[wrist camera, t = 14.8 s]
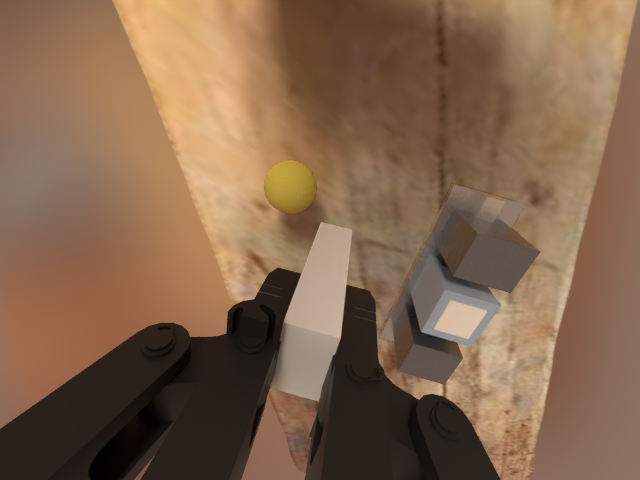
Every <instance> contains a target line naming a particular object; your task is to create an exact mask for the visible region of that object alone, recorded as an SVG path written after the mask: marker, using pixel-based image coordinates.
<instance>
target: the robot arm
mask: <svg viewBox="0 0 640 480" xmlns="http://www.w3.org/2000/svg"><path fill="white" fill-rule="evenodd" d="M351 237H352V230H351V229H347V228H343V227H339V226H335V225H331V224H327V223H323V222H321V223H320V226H319V228H318V231H317V234H316V236H315V239H314V242H313V244H312V247H311V250H310V252H309V255H308V258H307V260H306V263H305V266H304V268H303V271H302V274H300V273H297V272H293V271H289V270H285V269H281V268H277V269H275V270H274V271H272V272H271V273H269V274H268V276H267V278H266V279H265V281H264V283H263V285H262V286H261V288H260V290H259V292H258V293H257V295H256V297H255V299H254V300H247V301H242V302H240V303H238V304H236V305H234V306H233V307H232V308H231V309H230V310H229V311H228V319H227V334H224V335H220V336H214V337H190V336H189V333H188V331H187V330H186V329H185V328H184V327H183V326H181V325H178V324H175V323H159V324H155V325H151V326H148V327H146V328H145V329H143V330H141V331H139V332H137V333H136V334H134V335H133V336H132V337H130V338H129V339H127V340H126V341H124V342H123V343H122V344H120V345H119V346H118V347H116V348H114V349H113V350H112V351H110V352H109V353H107V354H106V355H105V356H103V357H102V358H100V359H99V360H97V361H96V362H95V363H93V364H92V365H90V366H89V367H88V368H86V369H85V370H84V371H82V372H81V373H79V374H78V375H76V376H75V377H73V378H72V379H70V380H69V381H68V382H66V383H65V384H63V385H62V386H61V387H59V388H58V389H56V390H55V391H54V392H52V393H51V394H49V395H48V396H46V397H45V398H44V399H42V400H41V401H39V402H38V403H37V404H35V405H34V406H32V407H31V408H29V409H28V410H26V411H25V412H24V413H22V414H21V415H19V416H18V417H17V418H15V419H14V420H12V421H11V422H9V423H8V424H7V425H5V426H4V427H2V428H1V429H0V480H134V479H135V478H136V476H137V475H138V474H139V473H140V472H141V471H142V469H143V468H144V467H145V466H146V465H147V463H148V462H149V461H150V460H151V459H152V458H153V456H154V455H155V454H156V455H155V456H154V458H153V460H152V461H151V463H150V465H149V466H148V468H147V470H146V471H145V473H144V475H143V476H142V478H141V480H241V478H242V475H243V472H244V469H245V466H246V463H247V460H248V457H249V454H250V451H251V448H252V445H253V442H254V439H255V436H256V433H257V430H258V427H259V424H260V421H261V417H262V414H263V411H264V408H265V403H266V398H267V395H268V392H269V389H270V388H272V389H276V390H279V391H283V392H286V393H290V394H293V395H297V396H300V397H304V398H307V399H311V400H315V401H318V402H319V399H320V403H319V409H318V413H317V416H316V419H315V421H314V424H313V427H312V430H311V432H310V435H309V437H312V439H311V445H310V451H309V457H308V463H307V469H306V476H305V480H500V478H499V476H498V474H497V472H496V470H495V468H494V466H493V464H492V462H491V461H490V459H489V457H488V455H487V453H486V451H485V449H484V447H483V445H482V443H481V441H480V439H479V438H478V436H477V434H476V432H475V430H474V428H473V426H472V424H471V423H470V421H469V420H468V418H467V417H466V415H465V414H464V412H463V411H462V410H461V409H460V408H459V407H457V406H456V405H455V404H454V403H453V402H451V401H450V400H448V399H446V398H445V397H443V396H439V395H435V394H429V395H424V396H423V397H422V398H421V399H420V400H418V399H417V398H415V397H413V396H412V395H410V394H408V393H407V392H405V391H403V390H402V389H400V388H399V387H397V386H396V385H394V384H393V383H392V382H391V381H390V380H389V379H388V378H387V377H386V375H385V373H384V370H383V368H382V367H381V365H380V364H379V361H378V349H377V328H376V314H375V313H376V306H375V300H374V298H373V296H372V295H371V293H370V291H368V290H364V289H360V288H357V287H353V286H349V285H346V284H347V274H348V265H349V256H350V246H351Z"/></svg>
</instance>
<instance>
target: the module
mask: <svg viewBox="0 0 640 480" xmlns="http://www.w3.org/2000/svg"><path fill="white" fill-rule="evenodd" d="M411 295H412V299H413V303H414V307H415V311H416V315H417V318H418V322H419V326H420V330H421V332H423V333H426V334H430V335H433V336H437V337H440V338H443V339H447V340H450V341H454V342H457V343H461V344H464V345H468V346H471V347H472V346H473V344H474V343H475V341H476V340H477V339H478V337H479V336H480V334H481V333H482V332H483V330H484V329H485V327H486V326H487V324H488V323H489V322H490V320H491V319H492V317H493V316H494V315H495V313H496V312H497V310H498V309H499V308H500V306H501V305H500V304H499V302H498V301H497V300H496V298H495V297H494V295H493V294H492V292H491V291H490V290H489V288H488V287H487V286H485V285H482V284H478V283H475V282H471V281H468V280H464V279H461V278H458V277H454V276H453V275H452V273H451V271H450V269H449V268H448V267H444V266H442V264H441V262H440V260H439V258H437V257H433V256H430V255H429V257H428V259H427V261H426V264H425V266H424V268H423V270H422V272H421V274H420V276H419V278H418V280H417V282H416V284H415V286H414V288H413V290H412V292H411Z"/></svg>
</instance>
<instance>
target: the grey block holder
mask: <svg viewBox="0 0 640 480" xmlns="http://www.w3.org/2000/svg"><path fill="white" fill-rule="evenodd" d="M524 207H525V205H524V204H523V203H520V202H517V201H513V200H510V199H506V198H503V197H499V196H496V195H492V194H489V193H485V192H482V191H478V190H475V189H471V188H468V187H464V186H461V185H457V184H454V183H452V185H451V187H450V189H449V191H448V193H447V195H446V197H445V199H444V201H443V203H442V206H441V208H440V210H439V212H438V214H437V216H436V218H435V220H434V222H433V224H432V226H431V228H430V230H429V232H428V234H427V236H426V238H425V241H424V243H423V245H422V247H421V249H420V251H419V253H418V255H417V257H416V259H415V261H414V263H413V265H412V267H411V269H410V271H409V274H408V276H407V278H406V280H405V282H404V284H403V286H402V288H401V290H400V292H399V294H398V296H397V298H396V300H395V302H394V304H393V306H392V309H391V311H390V313H389V315H388V317H387V319H386V321H385V323H384V325H383V327H382V329H381V331H380V333H379V337H380V338H382V339H386V340H389V341H393V342H395V350H396V357H397V365H398V371H401V372H404V373H407V374H411V375H414V376H417V377H421V378H424V379H427V380H431V381H434V382H437V383H441V384H445V383H446V381H447V380H448V379H449V377H450V376H451V374H452V373H453V372H454V370H455V369H456V368H457V366H458V365H459V363H460V362H461V361H462V359H463V357H462V354H461V352H460V349H459V347H458V344H457V342H454V341H450V340H447V339H443V338H440V337H437V336H433V335H430V334H426V333H423V332H421V330H420V326H419V322H418V318H417V315H416V311H415V307H414V303H413V299H412V295H411V292H412V290H413V288H414V286H415V284H416V282H417V280H418V278H419V276H420V274H421V272H422V270H423V268H424V266H425V264H426V261H427V259H428V257H429V255H430V256H433V257H437V258H439V260H440V262H441V264H442V266H444V267H448V268H449V269H450V271H451V273H452V275H453V276H454V277H458V278H461V279H464V280H468V281H471V282H475V283H478V284H482V285H485V286H488V287H492V288H495V289H499V290H502V291H505V292H509V293H511V292H512V290H513V289H514V287H515V286H516V285H517V283H518V282H519V281H520V279H521V278H522V276H523V275H524V274H525V272H526V271H527V269H528V268H529V267H530V265H531V264H532V263H533V261H534V260H535V258H536V257H537V256H538V254H539V253H540V251H539V250H538V249H537V248H535V247H534V246H533V245H532V244H530V243H529V242H528V241H527V240H525V239H524V238H523V237H522V236H520V235H519V234H518V233H517V232H515V231H514V230H513V229H512V228H511V227H512V226H513V224H514V223H515V221H516V219H517V218H518V216H519V215H520V213H521V212H522V210H523V208H524Z"/></svg>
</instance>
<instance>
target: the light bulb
mask: <svg viewBox="0 0 640 480" xmlns="http://www.w3.org/2000/svg"><path fill="white" fill-rule="evenodd" d="M264 190H265V195H266V197H267V199H268V201H269V203H270V204H271V205H272V206H273V207H274V208H276V209H277V210H279V211H281V212H285V213H298V212H300V211H303V210H305V209H306V208H307V207H308V206H309V205H311V203H312V202H313V200H314V198H315V195H316V190H317V185H316V179H315V177H314V175H313V173H312V172H311V170H310V169H309V168H308V167H307V166H305V165H304V164H302V163H300V162H297V161H293V160H288V161H282V162H280V163H278V164H276V165H274V166H273V167H272V168H271V169H270V170H269V171H268V174H267V176H266V178H265V183H264Z"/></svg>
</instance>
